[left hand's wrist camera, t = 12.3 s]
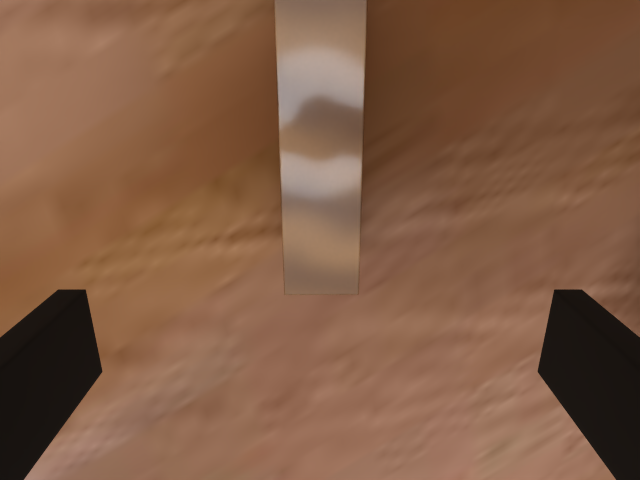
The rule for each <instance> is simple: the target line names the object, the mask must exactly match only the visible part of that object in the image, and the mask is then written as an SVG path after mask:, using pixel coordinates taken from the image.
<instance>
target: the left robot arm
mask: <svg viewBox="0 0 640 480" xmlns="http://www.w3.org/2000/svg"><path fill="white" fill-rule="evenodd" d="M101 373H102V367H101V362H100V358H99V353H98V348H97V343H96V338H95V333H94V328H93V323H92V318H91V313H90V308H89V304H88V299H87V294H86V290H57V291H56V292H55V293H54V294H52V295H51V296H50V297H49V298H48V299H46V300H45V301H44V302H43V303H42V304H40V305H39V306H38V307H37V308H35V309H34V310H33V311H32V312H31V313H29V314H28V315H27V316H26V317H25V318H23V319H22V320H21V321H20V322H19V323H17V324H16V325H15V326H14V327H12V328H11V329H10V330H9V331H8V332H6V333H5V334H4V335H3V336H2V337H0V480H24V479H25V477H26V476H27V474H28V473H29V472H30V470H31V469H32V468H33V466H34V465H35V463H36V462H37V461H38V459H39V458H40V457H41V455H42V454H43V453H44V451H45V450H46V448H47V447H48V446H49V444H50V443H51V442H52V440H53V439H54V437H55V436H56V435H57V433H58V432H59V431H60V429H61V428H62V426H63V425H64V424H65V422H66V421H67V420H68V418H69V417H70V415H71V414H72V413H73V411H74V410H75V409H76V407H77V406H78V404H79V403H80V402H81V400H82V399H83V398H84V396H85V395H86V394H87V392H88V391H89V389H90V388H91V387H92V385H93V384H94V383H95V381H96V380H97V378H98V377H99V376H100V374H101ZM538 373H539V374H540V376H541V377H542V378H543V380H544V381H545V383H546V384H547V385H548V387H549V388H550V389H551V391H552V392H553V394H554V395H555V396H556V398H557V399H558V400H559V402H560V403H561V404H562V406H563V407H564V409H565V410H566V411H567V413H568V414H569V415H570V417H571V418H572V420H573V421H574V422H575V424H576V425H577V426H578V428H579V429H580V431H581V432H582V433H583V435H584V436H585V437H586V439H587V440H588V442H589V443H590V444H591V446H592V447H593V448H594V450H595V451H596V453H597V454H598V455H599V457H600V458H601V459H602V461H603V462H604V463H605V465H606V466H607V468H608V469H609V470H610V472H611V473H612V474H613V476H614V477H615V479H616V480H640V337H638V336H637V335H636V334H635V333H634V332H632V331H631V330H630V329H629V328H628V327H626V326H625V325H624V324H623V323H621V322H620V321H619V320H618V319H617V318H615V317H614V316H613V315H612V314H611V313H609V312H608V311H607V310H606V309H605V308H603V307H602V306H601V305H600V304H598V303H597V302H596V301H595V300H594V299H592V298H591V297H590V296H589V295H588V294H586V293H585V292H584V291H583V290H554V294H553V299H552V304H551V308H550V313H549V318H548V323H547V328H546V333H545V338H544V343H543V348H542V353H541V358H540V362H539V367H538Z"/></svg>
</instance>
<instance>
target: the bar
mask: <svg viewBox="0 0 640 480" xmlns="http://www.w3.org/2000/svg"><path fill="white" fill-rule="evenodd" d="M274 14H275V42H276V71H277V99H278V128H279V156H280V185H281V213H282V242H283V270H284V294H285V295H358V294H359V266H360V232H361V198H362V164H363V130H364V96H365V63H366V29H367V0H274Z"/></svg>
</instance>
